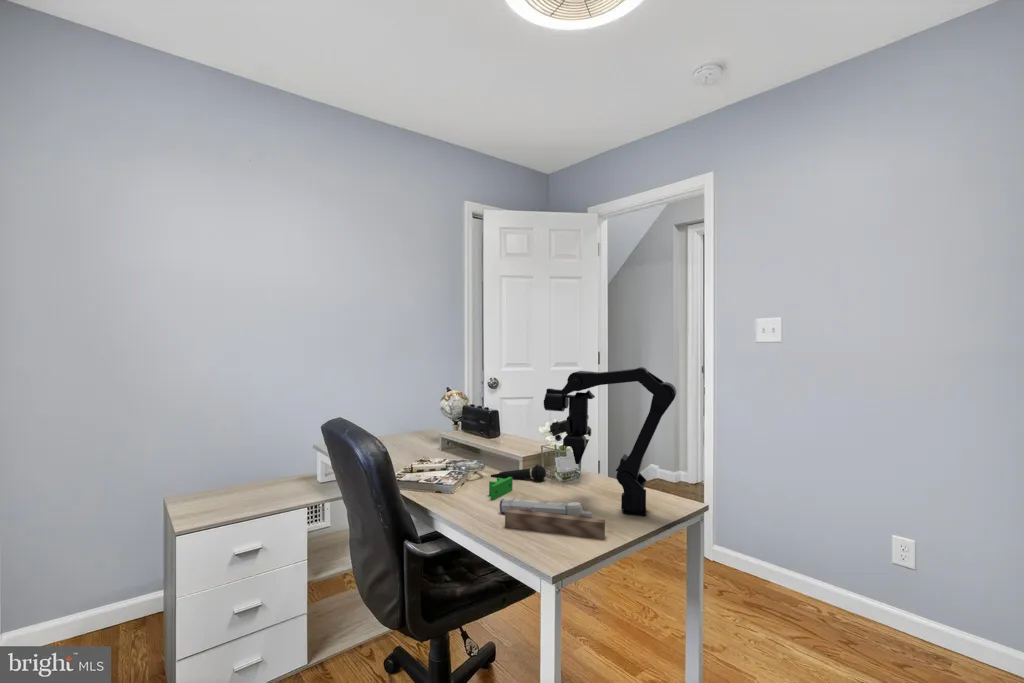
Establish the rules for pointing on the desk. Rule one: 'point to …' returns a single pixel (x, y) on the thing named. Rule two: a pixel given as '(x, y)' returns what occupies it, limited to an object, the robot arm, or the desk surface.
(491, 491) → the pipe clamp
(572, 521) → the rail
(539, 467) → the microphone
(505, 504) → the grey elongated rounded piece
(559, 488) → the desk surface
